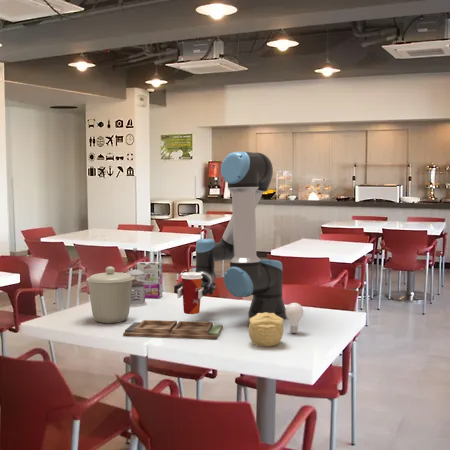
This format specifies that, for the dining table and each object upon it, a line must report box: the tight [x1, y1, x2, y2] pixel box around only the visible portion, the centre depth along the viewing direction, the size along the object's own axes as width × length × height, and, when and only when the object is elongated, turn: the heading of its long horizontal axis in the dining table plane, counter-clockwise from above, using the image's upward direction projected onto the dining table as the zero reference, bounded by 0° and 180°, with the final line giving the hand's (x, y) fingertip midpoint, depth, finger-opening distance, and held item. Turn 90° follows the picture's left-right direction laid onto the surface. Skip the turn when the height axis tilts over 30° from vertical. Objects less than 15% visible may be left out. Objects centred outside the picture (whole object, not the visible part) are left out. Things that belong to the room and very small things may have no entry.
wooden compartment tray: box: [122, 319, 224, 340], centre depth 212 cm, size 33×16×2 cm, turn 82°
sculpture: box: [248, 312, 285, 348], centre depth 196 cm, size 12×12×11 cm
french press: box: [126, 247, 151, 308], centre depth 259 cm, size 10×12×25 cm
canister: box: [86, 265, 135, 324], centre depth 230 cm, size 18×18×21 cm
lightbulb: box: [285, 302, 304, 335], centre depth 210 cm, size 6×6×11 cm
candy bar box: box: [135, 261, 163, 299], centre depth 275 cm, size 11×5×16 cm, turn 81°
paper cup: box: [180, 271, 203, 315], centre depth 211 cm, size 8×8×14 cm
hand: (189, 294), depth 206 cm, fingers closed on paper cup, 7 cm apart
